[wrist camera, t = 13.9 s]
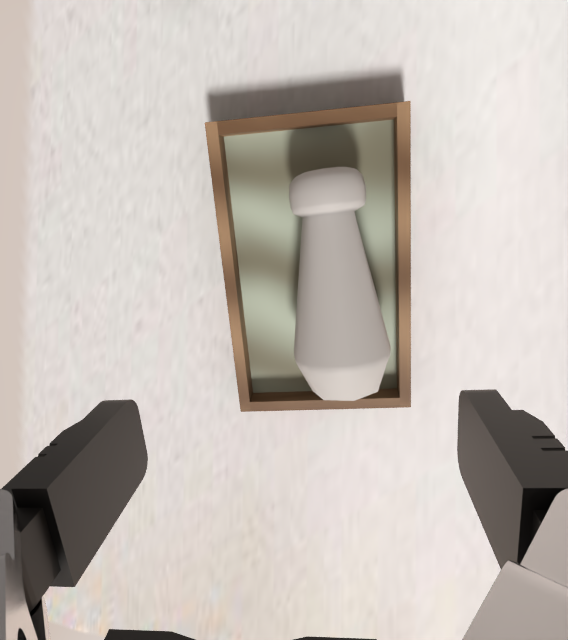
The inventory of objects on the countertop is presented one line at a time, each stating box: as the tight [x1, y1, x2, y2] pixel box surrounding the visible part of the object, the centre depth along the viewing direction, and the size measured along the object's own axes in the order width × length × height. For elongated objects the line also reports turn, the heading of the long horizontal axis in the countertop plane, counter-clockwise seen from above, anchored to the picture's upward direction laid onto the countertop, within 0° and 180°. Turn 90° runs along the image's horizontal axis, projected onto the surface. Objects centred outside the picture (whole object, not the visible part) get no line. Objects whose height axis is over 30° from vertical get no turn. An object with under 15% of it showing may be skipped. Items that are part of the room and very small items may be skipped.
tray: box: [205, 101, 411, 412], centre depth 29 cm, size 18×11×2 cm, turn 5°
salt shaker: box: [289, 167, 391, 401], centre depth 27 cm, size 6×6×13 cm
